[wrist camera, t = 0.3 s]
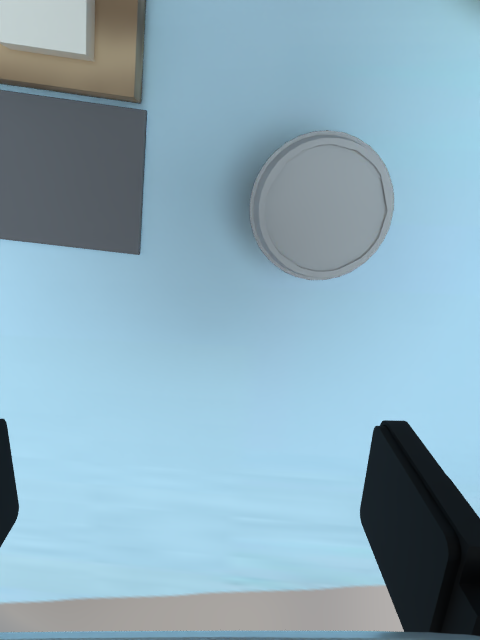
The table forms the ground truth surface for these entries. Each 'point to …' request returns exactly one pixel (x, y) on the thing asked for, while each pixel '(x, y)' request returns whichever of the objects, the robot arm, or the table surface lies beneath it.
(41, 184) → the mat
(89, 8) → the tile
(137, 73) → the block
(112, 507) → the table surface
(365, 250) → the disposable coffee cup
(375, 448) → the robot arm
